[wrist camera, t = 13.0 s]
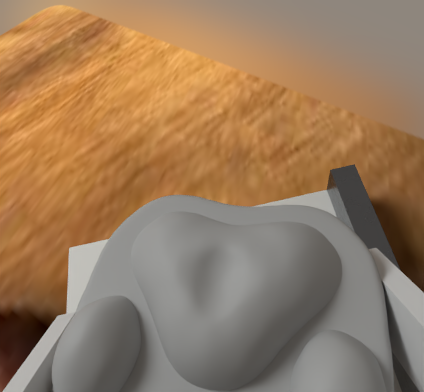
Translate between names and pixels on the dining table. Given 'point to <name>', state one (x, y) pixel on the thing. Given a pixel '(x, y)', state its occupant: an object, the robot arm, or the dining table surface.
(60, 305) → the dining table surface
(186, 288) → the lumpy-topped squat cylinder
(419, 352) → the robot arm
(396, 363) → the rail
